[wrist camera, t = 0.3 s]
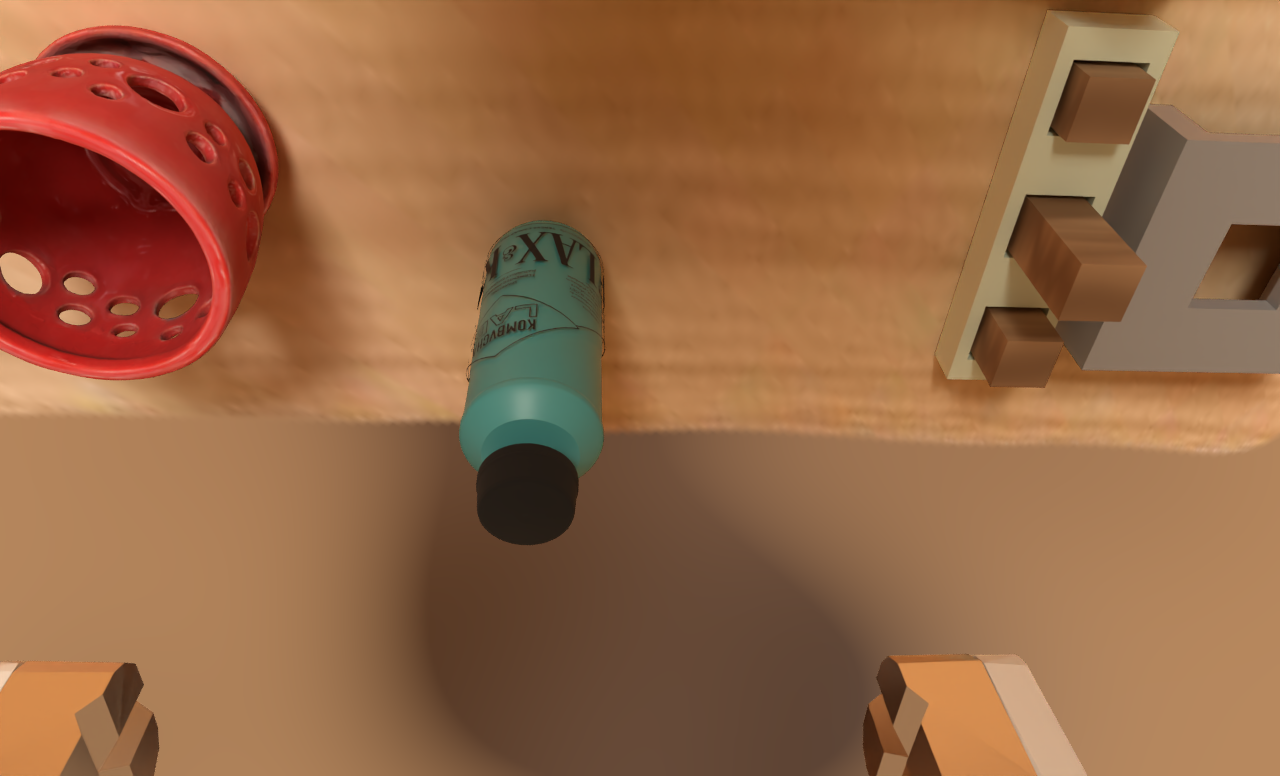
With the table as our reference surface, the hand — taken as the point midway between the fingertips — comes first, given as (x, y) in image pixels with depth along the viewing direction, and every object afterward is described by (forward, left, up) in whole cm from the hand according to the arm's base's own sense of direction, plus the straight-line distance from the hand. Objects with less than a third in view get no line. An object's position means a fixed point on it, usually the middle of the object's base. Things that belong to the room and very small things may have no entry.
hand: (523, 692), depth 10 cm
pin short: (+6, +26, -39) cm, 47 cm away
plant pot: (+11, -20, -39) cm, 45 cm away
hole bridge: (+14, +37, -39) cm, 56 cm away
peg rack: (+13, +26, -39) cm, 49 cm away
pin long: (+13, +26, -39) cm, 49 cm away
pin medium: (+20, +26, -39) cm, 51 cm away
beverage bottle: (+17, -1, -39) cm, 43 cm away
